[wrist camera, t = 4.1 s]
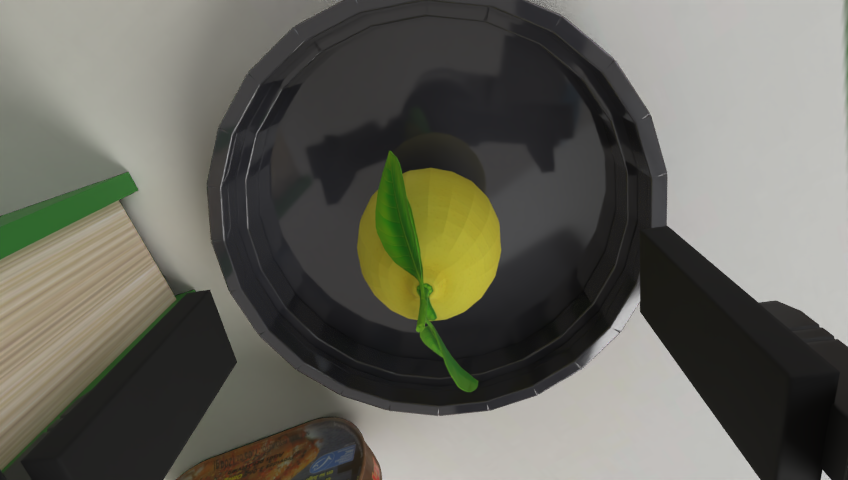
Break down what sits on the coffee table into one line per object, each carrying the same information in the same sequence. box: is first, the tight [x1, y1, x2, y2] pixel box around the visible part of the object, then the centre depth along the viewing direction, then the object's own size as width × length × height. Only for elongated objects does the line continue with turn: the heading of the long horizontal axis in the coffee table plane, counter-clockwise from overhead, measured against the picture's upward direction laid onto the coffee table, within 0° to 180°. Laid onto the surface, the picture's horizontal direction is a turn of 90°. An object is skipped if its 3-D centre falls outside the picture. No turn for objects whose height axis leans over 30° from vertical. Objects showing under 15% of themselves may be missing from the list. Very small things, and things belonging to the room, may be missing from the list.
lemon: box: [357, 151, 501, 392], centre depth 18 cm, size 7×6×10 cm
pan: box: [207, 0, 667, 416], centre depth 21 cm, size 18×18×4 cm
